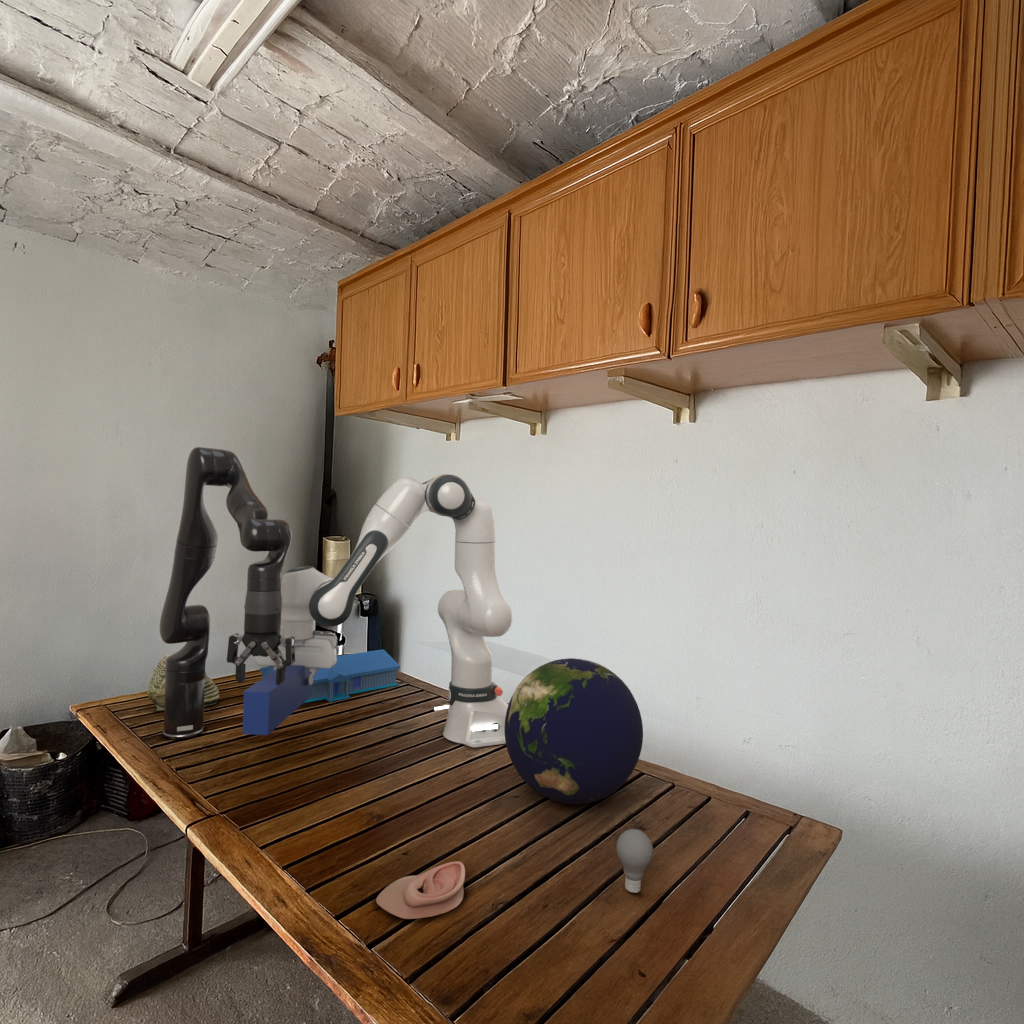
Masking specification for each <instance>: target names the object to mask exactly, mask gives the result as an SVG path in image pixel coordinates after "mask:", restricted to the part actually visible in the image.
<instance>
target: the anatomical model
mask: <svg viewBox="0 0 1024 1024" xmlns="http://www.w3.org/2000/svg"><path fill="white" fill-rule="evenodd" d="M465 881H466V868H465V864H464V863H463V862H461V861H460V860H459V861H456V860H455V861H449V862H446V863H442V864H440V865H437V866H434V867H433V868H430V869H428V870H426V871H424V872H421V873H420V874H418V875H407V876H404V877H400V878H398V879H396V880H394V881H393V882H391V883H390V884H389V885H388V886H386V887H384V889H383V890H381V892H380V893H379V894H378V895H377V897H376V899H375V902H376V904H377V905H378V906H379V907H380V908H381V909H383V910H384V911H386V912H387V913H389V914H391V915H393V916H395V917H398V918H400V919H404V920H415V919H423V918H424V919H425V918H430V917H431V918H432V917H435V916H439V915H443V914H445V913H448V912H451V911H452V910H454V909H455V908H457V907H458V906H460V904H461V903H462V901H463V899H464V896H465V894H464V893H465V892H464V884H465Z"/></svg>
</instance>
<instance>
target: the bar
mask: <svg viewBox="0 0 1024 1024" xmlns="http://www.w3.org/2000/svg"><path fill="white" fill-rule="evenodd" d="M311 673H312V672H310V668H305V666H297V665H290V666H286V679H285V681H283V683H282V684H280V685H276V675H277V669H276V670H274V671H273V672H271V673H270V674H268V675H267V676H266V677H264V678H263V679H262V678H261V679H259V680H258V681H256V682H255V683H253V684H252V685H251V686H249V687H247V689H245V690H243V707H242V708H243V709H242V710H243V711H242V735H253V736H254V735H255V736H269V735H270V734H272V732H274V731H275V729H277V728H278V727H279V726H281V724H282V723H283V722H284V721H286V720H287V719H289V717H290V716H292V714H294V712H296V711H297V710H298V709H299V708H300V707H301V706H302V705H303V704H305V703H304V702H305V701H306V700H307V699H309V698H310V697H311V696H312V685H306V684H305V682H306V681H305V679H306V678H307V677H308V676H310V675H311Z"/></svg>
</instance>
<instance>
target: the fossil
mask: <svg viewBox="0 0 1024 1024" xmlns="http://www.w3.org/2000/svg"><path fill="white" fill-rule="evenodd" d="M170 655H171V654H165V655H164V656H163V657H162V658H161V659H160V660H159V662H158V663H157V666H156V667H155V669H154V670H153V672H152V675H151V677H150V680H149V684H148V688H147V697H148V699H149V700H150V701H152V703H153V704H154V706H155V711H158V712H159V711H162V712H163V711H164V705H165V674H166V660H167V658H168V657H169V656H170ZM220 698H221V696H220V690H219V688H218V686H217V685H216V683H215V682H214V681H213V679H212V678H211V677H209V675H208V674H207V672H206V671H205V693H204V707H207V706H213V705H215V704H217V703H218V701H219V699H220Z"/></svg>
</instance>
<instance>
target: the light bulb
mask: <svg viewBox="0 0 1024 1024" xmlns="http://www.w3.org/2000/svg"><path fill="white" fill-rule="evenodd" d="M615 849H616V854H617V857H618V859H619V861H620V863H621V865H622V867H623V873H624V874H623V875H624V876H625V878H624V888H625V890H627V891H628V892H630V893H634V894H635V893H639V892H640V891H641V889H642V887H641V886H642V879H643V877H644V875H645V871H646V868H647V867H648V866H649V864H650V863H651V861H652V859H653V855H654V847H653V843H652V841H651V838H649V836H648V835H647V834H646V833H645V832H643V831H642V830H641V829H636V828H629V829H627V830H625V831H623V832H622V833H621V834H620V835H619V837H618V839H617V841H616V847H615Z"/></svg>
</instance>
